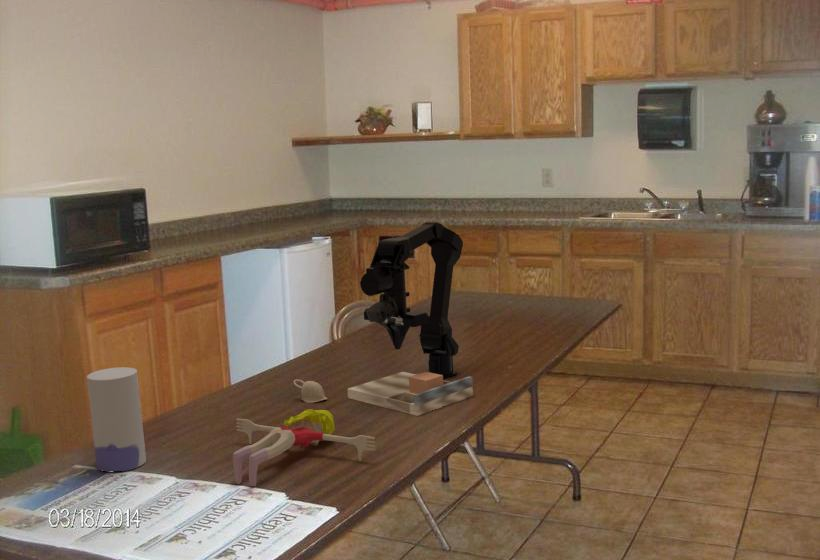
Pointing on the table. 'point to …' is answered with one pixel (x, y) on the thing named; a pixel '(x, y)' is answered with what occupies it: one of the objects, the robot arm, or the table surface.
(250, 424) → the toy
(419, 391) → the terracotta block
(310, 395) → the beige domed piece
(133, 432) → the container
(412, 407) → the tray
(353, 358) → the table surface
